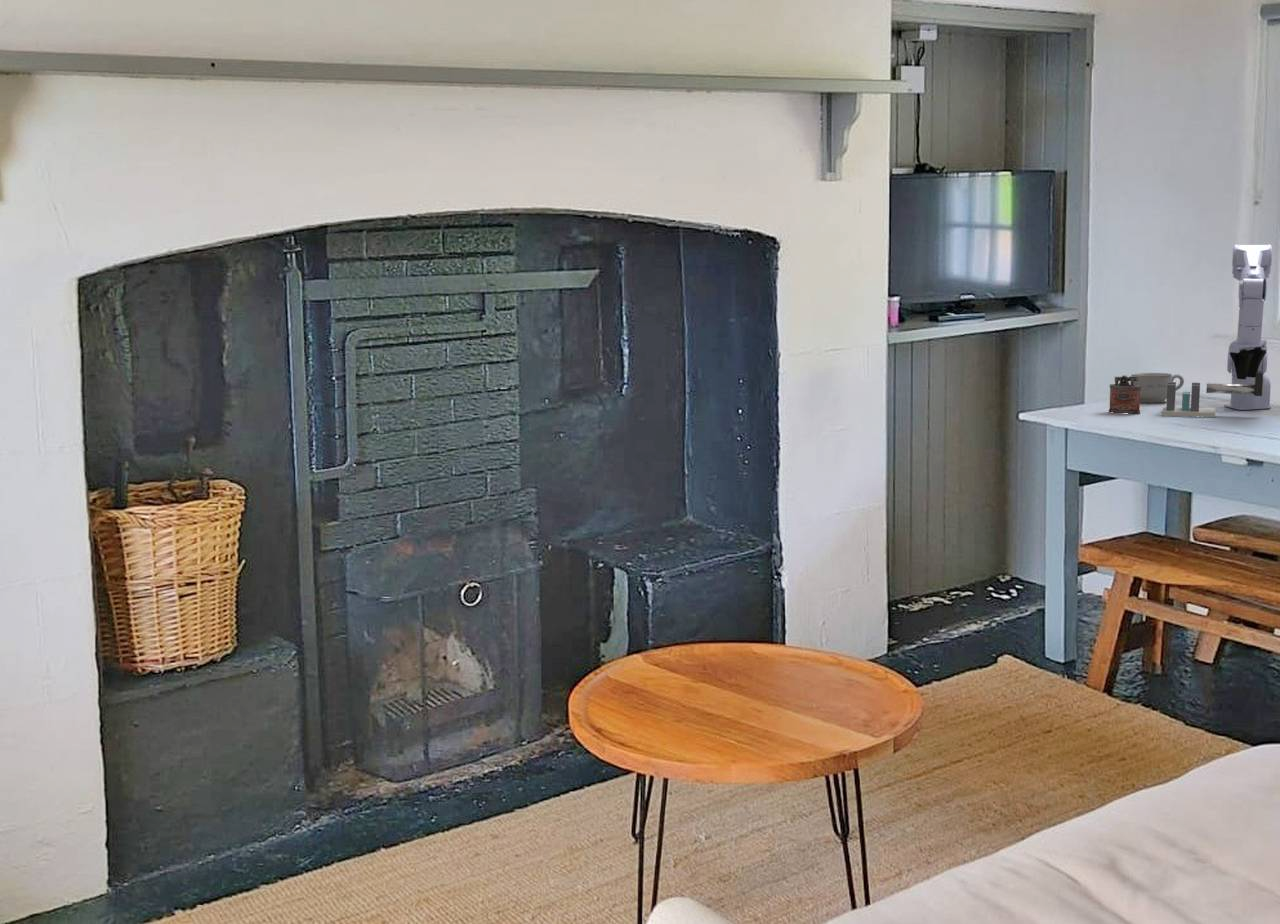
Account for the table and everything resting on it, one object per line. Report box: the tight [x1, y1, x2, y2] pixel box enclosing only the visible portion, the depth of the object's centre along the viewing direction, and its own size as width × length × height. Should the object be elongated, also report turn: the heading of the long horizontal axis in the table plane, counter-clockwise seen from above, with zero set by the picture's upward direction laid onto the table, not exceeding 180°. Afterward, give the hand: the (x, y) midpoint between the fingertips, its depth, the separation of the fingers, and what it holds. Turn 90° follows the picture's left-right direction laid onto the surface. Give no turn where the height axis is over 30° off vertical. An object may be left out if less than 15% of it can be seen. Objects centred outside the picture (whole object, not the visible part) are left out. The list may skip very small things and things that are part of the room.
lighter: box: [1108, 374, 1141, 415], centre depth 413 cm, size 8×3×10 cm, turn 62°
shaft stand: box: [1161, 381, 1216, 418], centre depth 410 cm, size 13×9×8 cm
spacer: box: [1181, 391, 1191, 411], centre depth 410 cm, size 2×4×4 cm, turn 160°
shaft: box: [1205, 372, 1264, 396], centre depth 405 cm, size 14×2×6 cm, turn 70°
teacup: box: [1131, 372, 1185, 403], centre depth 432 cm, size 14×11×8 cm
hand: (1246, 378), depth 402 cm, fingers open, 4 cm apart
